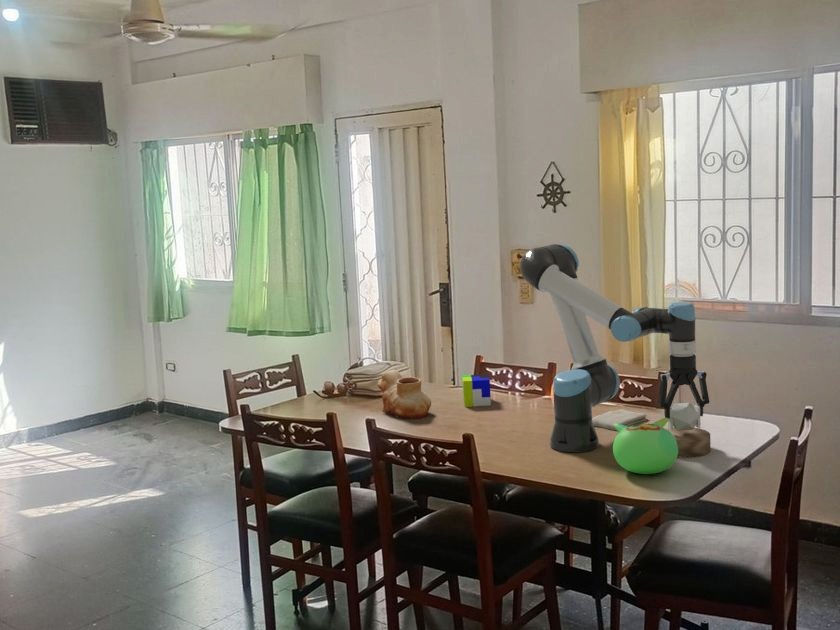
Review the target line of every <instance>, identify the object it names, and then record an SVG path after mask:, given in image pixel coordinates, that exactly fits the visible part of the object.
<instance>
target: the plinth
mask: <svg viewBox="0 0 840 630" xmlns="http://www.w3.org/2000/svg"><path fill="white" fill-rule="evenodd" d="M665 429H666V430H668V431H669V432H670V433H671V434H672V435H673V436H674V437H675V439H676V441H677V445H678V455H677V458H687V459H688V458H698V457H699V458H700V457H703V456H706V455H708V454H710V452H711V451H712V450H711V448H712V447H711V433H710V432H709V431H708V430H706V429H703V428H697V427H695V428H694V430H682V431H677V430H676V429H675V427H674V426H673V430H670V429H669V428H668V427H667V428H665Z"/></svg>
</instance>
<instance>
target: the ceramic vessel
mask: <svg viewBox="0 0 840 630" xmlns="http://www.w3.org/2000/svg"><path fill="white" fill-rule="evenodd" d="M376 385H377V387H378V388H379V389H380V391H381V393H382V404H383V407H382V410H381V412H382V413H385V414H389V415H392V416H394V417H397V418H398V419H423V418H426V417H427V414H428V412H429V410H430V408H431V406H432V400H431V397H430V396H428V394H427V393H426V392H425V391H423V390H422V379H420V378H419V377H414V376H405V377H403V376H402V374H401V373H400V372H399V370H397V369H392V370H386V371H384V372H383V373H382V374H381V378H380V379H379V380H378V381H377V384H376Z"/></svg>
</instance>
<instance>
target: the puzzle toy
mask: <svg viewBox="0 0 840 630" xmlns="http://www.w3.org/2000/svg"><path fill="white" fill-rule="evenodd" d="M461 378H462V379H461V380H462V391H463V392H462V393H463V394H462V395H463V396H462V397H463V405H464V408H468V407H472V406H473V407H485V406H488V407H489V406H492V398H491V397H492V396H491V379H490V376H489V373H484V374H465V375H461Z"/></svg>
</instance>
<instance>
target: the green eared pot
mask: <svg viewBox="0 0 840 630" xmlns="http://www.w3.org/2000/svg"><path fill="white" fill-rule="evenodd" d="M668 420H669V418H665V417H664V418H661V419H659V420H657V421H655V422H653V423H640V424H639V423H636V424H633V425H630V426H628V427H627V426H624V425H621V424H614V425H613V426H614V428H615V429H616V430H615V431H617V432H618V434H617V435H616V436H615V437H614V438H615V439H613V445H612V454H613V457H614V459H615V461H616V462H617V464H618V465H620V467H622V468H623V469H625V470H626V471H629V472H630V473H634V474H639V475H653V474H658V473H661V472H664V471H666V470H668V469H669V468H671V467H672V466H673V465H674V464H675V462H676V461H677V458H678V457H677V455H678V445H677V441H676V439H675V437H674V436H673V435H672V434H671V433H670V432H669V431H668V430H666V429H667V428H664V426H665V425H666V424H668Z"/></svg>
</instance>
